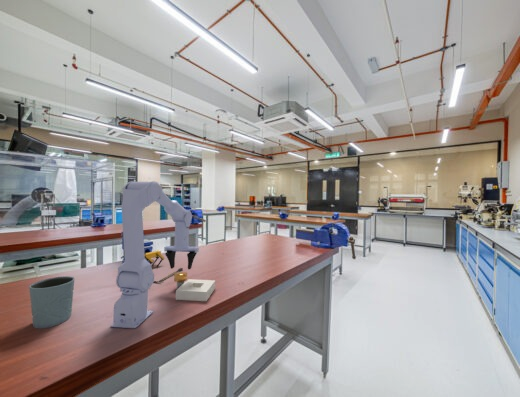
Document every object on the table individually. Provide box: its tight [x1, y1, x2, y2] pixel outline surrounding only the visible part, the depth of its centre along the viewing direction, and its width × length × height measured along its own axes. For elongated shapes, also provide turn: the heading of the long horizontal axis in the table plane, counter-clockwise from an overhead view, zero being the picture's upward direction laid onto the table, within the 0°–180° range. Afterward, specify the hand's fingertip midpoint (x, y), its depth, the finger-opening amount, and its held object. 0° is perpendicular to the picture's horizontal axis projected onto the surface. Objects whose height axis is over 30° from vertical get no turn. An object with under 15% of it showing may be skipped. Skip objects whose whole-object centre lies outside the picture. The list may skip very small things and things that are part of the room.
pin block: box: [175, 278, 216, 302], centre depth 89 cm, size 12×12×4 cm
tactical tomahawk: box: [153, 267, 184, 285], centre depth 108 cm, size 21×7×1 cm, turn 166°
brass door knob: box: [173, 271, 188, 290], centre depth 94 cm, size 5×5×6 cm
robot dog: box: [144, 249, 165, 268], centre depth 119 cm, size 6×18×13 cm, turn 154°
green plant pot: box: [28, 275, 76, 329], centre depth 67 cm, size 10×10×12 cm
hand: (181, 268), depth 94 cm, fingers open, 7 cm apart
